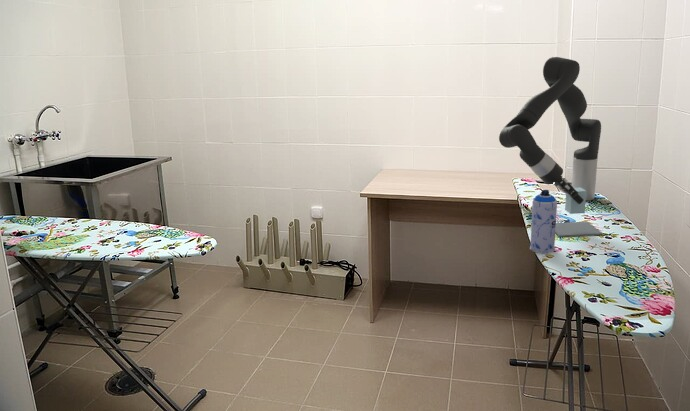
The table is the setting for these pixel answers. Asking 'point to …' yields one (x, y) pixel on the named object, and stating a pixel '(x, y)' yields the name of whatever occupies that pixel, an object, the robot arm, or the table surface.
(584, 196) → the block
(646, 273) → the table surface
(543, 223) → the aerosol can
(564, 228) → the mat
